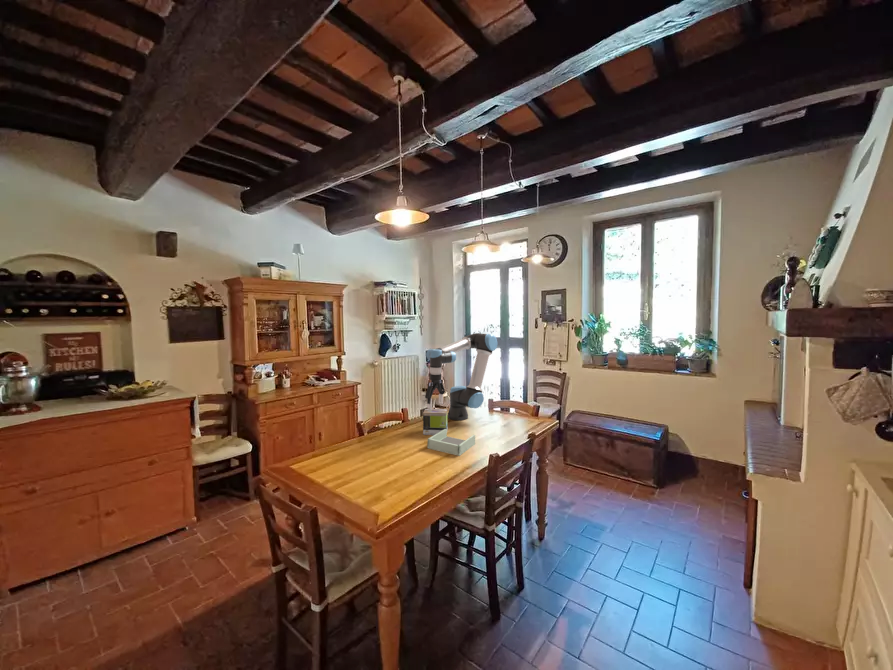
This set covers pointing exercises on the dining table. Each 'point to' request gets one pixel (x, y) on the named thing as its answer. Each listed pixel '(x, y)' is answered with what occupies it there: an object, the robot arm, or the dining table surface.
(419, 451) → the dining table surface
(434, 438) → the grey tray
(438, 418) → the tea box
